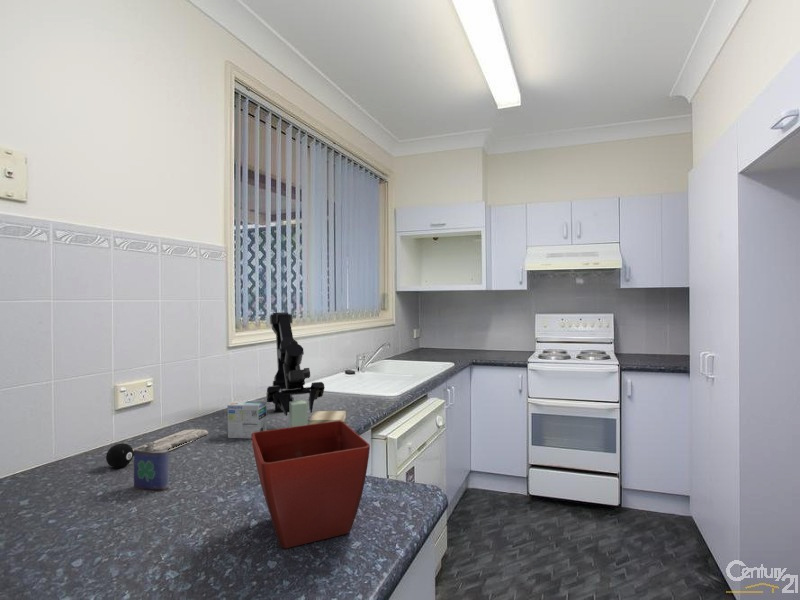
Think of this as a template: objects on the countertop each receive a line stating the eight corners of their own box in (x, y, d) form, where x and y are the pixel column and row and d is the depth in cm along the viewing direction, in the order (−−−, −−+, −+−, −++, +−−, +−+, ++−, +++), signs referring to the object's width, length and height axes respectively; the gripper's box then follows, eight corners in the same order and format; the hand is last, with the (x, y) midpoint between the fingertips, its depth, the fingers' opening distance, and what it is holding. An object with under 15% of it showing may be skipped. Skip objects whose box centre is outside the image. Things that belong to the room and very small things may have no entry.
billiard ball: (120, 471, 115) (120, 448, 115) (100, 470, 116) (100, 447, 116) (138, 463, 121) (138, 441, 121) (119, 462, 122) (119, 440, 122)
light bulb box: (267, 432, 147) (267, 400, 147) (259, 439, 140) (258, 404, 140) (236, 432, 148) (236, 399, 148) (227, 438, 141) (226, 404, 141)
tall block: (289, 431, 148) (289, 401, 148) (304, 429, 149) (304, 400, 149) (292, 435, 143) (291, 404, 143) (307, 433, 145) (307, 403, 145)
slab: (308, 429, 150) (308, 420, 150) (315, 419, 162) (315, 411, 162) (341, 428, 150) (341, 419, 150) (345, 419, 162) (345, 410, 162)
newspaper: (156, 459, 125) (156, 450, 125) (124, 459, 129) (123, 451, 129) (214, 435, 146) (214, 428, 146) (185, 436, 150) (184, 428, 150)
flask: (171, 487, 104) (170, 441, 104) (161, 492, 102) (160, 445, 101) (140, 483, 107) (139, 439, 107) (129, 488, 104) (128, 442, 104)
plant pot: (263, 566, 73) (261, 462, 73) (251, 515, 90) (250, 431, 90) (373, 539, 80) (371, 445, 80) (343, 496, 98) (342, 420, 98)
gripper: (266, 362, 146) (271, 402, 136) (322, 358, 154) (331, 396, 143) (264, 382, 153) (268, 422, 143) (318, 377, 161) (325, 415, 151)
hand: (299, 413), depth 145 cm, fingers open, 8 cm apart
